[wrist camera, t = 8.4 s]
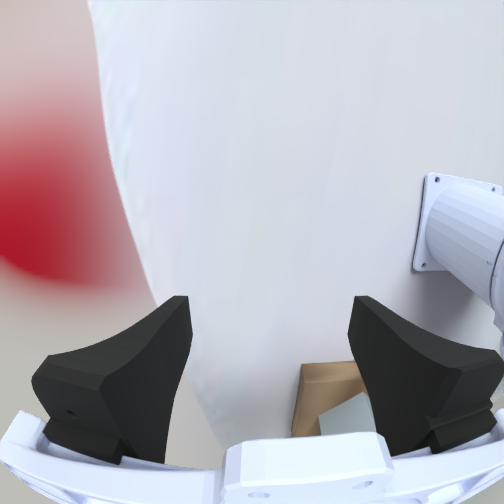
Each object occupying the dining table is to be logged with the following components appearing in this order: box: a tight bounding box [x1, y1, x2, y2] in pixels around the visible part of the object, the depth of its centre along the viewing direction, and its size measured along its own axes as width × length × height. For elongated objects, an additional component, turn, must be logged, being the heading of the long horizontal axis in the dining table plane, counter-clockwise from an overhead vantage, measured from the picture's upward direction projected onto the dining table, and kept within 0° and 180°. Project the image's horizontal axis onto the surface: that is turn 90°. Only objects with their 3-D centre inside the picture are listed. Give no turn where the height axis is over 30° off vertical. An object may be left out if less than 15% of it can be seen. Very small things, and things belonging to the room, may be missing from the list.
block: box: [318, 392, 376, 435], centre depth 22 cm, size 5×5×5 cm
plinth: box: [291, 361, 369, 438], centre depth 26 cm, size 11×11×2 cm
